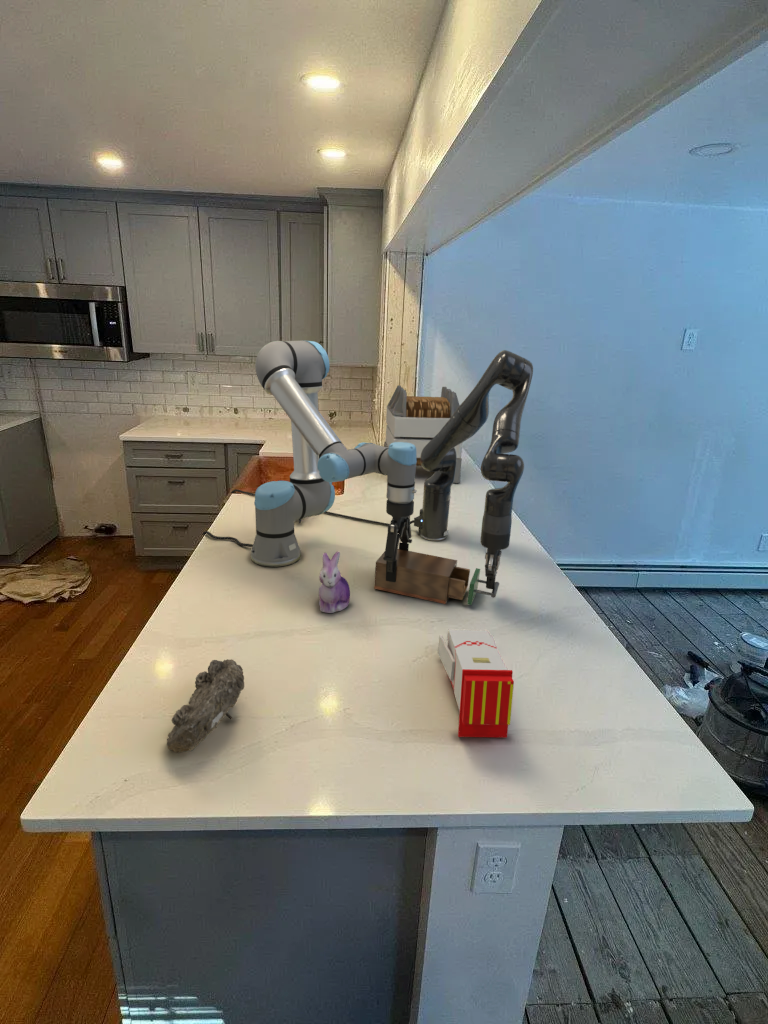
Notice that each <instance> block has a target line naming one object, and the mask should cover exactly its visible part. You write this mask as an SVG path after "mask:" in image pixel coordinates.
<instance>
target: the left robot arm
mask: <svg viewBox="0 0 768 1024" xmlns="http://www.w3.org/2000/svg"><path fill="white" fill-rule="evenodd" d="M330 366H331V365H330V358H329V356H328V353H327V350H326V349H325V348H323V346H322V345H321V344H320V343H319V342H317V341H314V340H305V339H303V340H274V341H270V342H268V343H266V344H264V346H262V347H261V349H260V350H259V352H257V355H256V358H255V365H254V367H255V368H254V369H255V375H256V377H257V380H258V382H259V384H260V385H261V387H262V388H263V390H264V391H265V393H266V394H268V395H270V396H273V398H274V399H275V400H276V402H277V403H278V405H279V406H280V407H281V409H282V410H283V411H284V412H285V414H286V416H287V417H288V418H289V420H290V424H291V426H290V427H291V428H290V429H291V441H292V442H291V443H292V457H293V459H292V460H293V471H292V472H291V473H290V475H289V480H277V481H276V480H272V481H267V482H265V483H262V484H261V485H259V486H258V487H257V488H256V490H255V492H254V494H255V496H254V502H253V503H254V504H253V505H254V507H255V508H254V513H255V537H254V540H253V543H246V542H245V543H244V542H240V540H239V539H238V538H236V537H233V536H217V535H214V534H213V533H211V532H210V531H208V530H205V531H204V532H202V535H203V536H205V535H208V536H209V537H210V538H212V539H213V540H221V541H222V540H223V541H225V540H230V541H234V542H235V543H236V544H237V545H239V546H241V547H249V548H251V549H250V559H251V561H252V562H253V563H254V564H256V565H259V566H261V567H268V568H272V567H273V568H278V567H285V566H289V565H293V564H294V563H296V562H298V561H299V560H300V559H301V556H302V555H301V551H302V550H301V547H300V546H299V543H298V539H297V536H296V534H295V522H299V520H301V521H302V520H305V519H308V518H312V517H315V516H316V517H317V516H319V515H322V514H325V513H324V512H326V511H327V512H329V510H331V508H332V506H333V505H334V503H335V499H336V489H335V486H334V485H333V483H337V482H338V483H339V482H344V481H346V480H349V479H352V478H357V477H363V476H365V475H369V474H373V473H375V474H379V475H383V476H386V477H387V479H386V503H385V504H386V505H385V507H386V508H385V512H386V514H387V515H388V516H391V517H392V518H391V520H390V523H388V526H387V534H386V542H385V549H384V551H385V555H384V557H383V560H385V561H386V581H390V582H396V566H397V560H396V555H397V550H398V549H402V550H407V551H409V549H410V547H409V545H410V544H412V542H413V539H411V538H412V527H411V524H410V521H411V516H412V515H413V514H414V511H415V510H414V509H415V501H414V500H415V494H417V492H418V491H417V489H415V487H416V472H417V466H416V463H417V459H416V447H415V445H413V444H411V443H407V442H406V443H405V442H394V443H391V444H390V445H389V448H387V447H384V445H381V444H376V443H373V442H366V441H365V442H364V441H363V442H359V443H357V445H356V446H355V447H354V448H351V449H347V447H346V445H344V443H343V442H342V441H341V439H340V438H339V436H338V435H337V434H336V432H335V431H334V430H333V428H332V427H331V425H330V424H329V423H328V421H327V420H326V418H324V416H323V414H321V412H320V411H319V410H320V409H319V391H320V390H321V389H322V388H323V380H324V379H326V377H327V376H328V374H329V372H330Z"/></svg>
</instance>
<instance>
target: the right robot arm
mask: <svg viewBox="0 0 768 1024" xmlns="http://www.w3.org/2000/svg"><path fill="white" fill-rule="evenodd" d="M533 375H534V364H533V363H532V361H531V360H528V358H525V357H523V356H521V355H519V354H516V353H515V352H513V351H510V350H507V349H503V350H501V351H499V352H498V353H497V354H496V355H495V356H494V358H493V359H492V360H491V362H490V364H489V365H488V367H487V368H486V369H485V371H484V373H483V374H482V375H481V377H480V379H479V380H478V381H477V384H476V385H475V386H474V387H473V389H472V390H471V391H470V393H468V395H467V396H466V397H465V399H463V401H462V402H461V404H459V405H460V406H459V407H458V409H457V410H456V411H455V413H454V414H453V415H452V417H451V418H450V419H449V421H448V422H447V423H446V424H445V425H444V427H443V428H442V429H441V430H440V432H439V433H438V434H437V435H436V436H435V437H434V438H433V439H432V440H431V441H430V442H429V443H428V444H427V445H426V446H425V447H424V448H423V450H422V452H421V456H420V463H421V466H420V467H422V469H423V470H424V471H427V472H430V473H431V472H432V473H433V474H431V476H429V477H427V478H426V479H425V480H424V482H423V493H422V496H423V497H422V506H421V508H420V509H419V515H418V516H416V517H414V518H413V519H412V520H410V525H411V524H413V526H414V527H416V528H418V530H417V535H418V536H420V538H421V539H424V540H426V541H432V542H440V541H444V540H446V539H447V538H448V534H449V529H448V525H449V517H450V516H449V514H450V504H451V494H452V493H451V491H452V486H453V484H454V483H453V481H454V475H455V468H456V459H457V457H456V450H455V448H454V447H455V446H457V445H459V444H461V443H462V442H463V443H464V442H466V441H467V440H469V439H470V438H473V437H474V436H475V435H476V434H477V433H478V432H479V431H480V429H481V428H482V427H484V425H485V424H486V423H487V421H488V418H489V415H490V392H491V391H492V388H493V387H494V386H496V385H498V386H501V387H503V388H504V389H505V388H506V389H507V390H511V391H512V398H511V399H510V401H509V402H508V403H506V404H505V405H504V406H503V407H502V408H501V409H500V410H499V411H498V412H497V414H496V416H495V418H494V420H493V424H492V433H491V440H490V444H489V446H488V448H487V450H486V453H485V455H484V456H483V459H482V461H481V465H480V474H481V476H482V478H483V479H484V480H486V481H488V482H489V481H491V482H501V483H506V485H504V486H501V487H495V488H490V489H488V490H487V491H486V493H485V498H484V507H483V508H484V512H483V515H482V520H481V521H482V522H481V532H480V541H479V542H480V543H479V544H480V545H481V546H482V547H484V548H486V551H485V554H484V559H485V564H484V573H485V574H484V575H485V577H486V580H485V581H486V584H485V588H486V589H487V590H488V589H489V590H493V589H494V587H495V582H496V579H497V574H498V571H499V567H500V564H501V558H502V556H503V555H502V554H503V550H506V549H507V548H509V547H510V541H511V532H512V525H513V524H512V523H513V522H512V521H513V519H512V518H513V517H512V516H513V515H512V514H513V507H514V506H513V505H514V498H515V493H516V491H517V488H518V486H519V484H520V481H521V479H522V477H523V474H524V471H525V461H524V460H523V458H522V457H521V456H520V455H518V454H512V452H515V451H516V450H517V449H518V447H519V445H520V436H521V424H522V417H523V415H524V414H523V413H524V409H525V406H526V402H527V399H528V396H529V392H530V388H531V384H532V381H533ZM463 443H462V444H463ZM509 453H511V454H509ZM236 492H237V493H240V494H244V495H250V496H254V497H255V493H253V492H248V491H244V490H241V489H233V490H232V491H231V492H230V493H231V494H233V493H236ZM323 514H327V515H331V516H336V517H340V518H345V519H350V520H353V521H354V520H355V521H359V522H366V523H371V524H376V525H380V526H386V527H388V524H389V523H388V522H382V521H377V520H371V519H367V518H361V517H355V516H350V515H345V514H340V513H336V512H332V511H326V512H324V513H323Z"/></svg>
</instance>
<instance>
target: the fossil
mask: <svg viewBox="0 0 768 1024" xmlns="http://www.w3.org/2000/svg"><path fill="white" fill-rule="evenodd" d="M243 670H244V669H243V667H242V665H240V664H237V662H236V661H235V660H234V659H232V658H231V659H227V658H226V659H224V660H223V661H222V660H217V659H212V660H211V661H210V663H209V665H208V666H207V671H201V672H199V673H198V674H197V675H196V676H195V680H194V684H195V685H194V687H195V689H194V690H193V693H192V694H191V697H190V698H189V700H188V704H184V705H182V706H181V707H180V709H177V710H176V711H175V713H174V715H173V716H172V718H171V723H172V724H173V727H172V730H171V731H170V732H168V734H167V738H166V741H167V742H166V745H167V749H168V750H169V751H173V752H174V753H176V754H178V753H182V752H188V751H189V752H192V751H193V750H195V748H196V747H197V746H199V744H200V743H201V742H203V741H204V740H205V739H206V738H207V737H208V736H209V735H210V734H211V733H212V732H214V730H215V729H217V727H218V726H219V724H220V722H221V721H222V720H223V719H224V718H225V716H226V717H227V719H229V720H233V717H232V715H230V714H229V710H230V709H231V708H234V706H235V704H236V703H237V702H238V699H239V697H240V695H241V693H242V691H243V690H245V689H244V688H245V675H244V671H243Z"/></svg>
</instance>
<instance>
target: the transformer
mask: <svg viewBox="0 0 768 1024" xmlns="http://www.w3.org/2000/svg"><path fill="white" fill-rule="evenodd" d="M440 393H441V394H440V396H415V395H414V396H413V395H412V396H411V395H407V394H408V393H407V390H406V389H404V388H403V387H402V385H399V384H398V385H397V386H396V388H395V390H394V392H393V394H392V395H391V398H390V400H389V402H388V404H387V405H386V413H385V414H386V415H385V423H386V428H385V438H384V442H383V446H384V447H387V448H389V445H390V444H391V443H394V442H405V443H406V442H407V443H411V444H413V445H415V447H416V459H417V463H416V467H417V466H418V467H422V466H421V463H420V456H421V452H422V450H423V448H424V447H425V446H426V445H427V444H428V443H429V442H430V441H431V440H432V439H433V438H434V437H435V436H436V435H437V434H438V433H439V432H440V430H441V429H442V428H443V427H444V425H445V424H446V423H447V422H448V421H449V419H450V418H451V417H452V415H453V414H454V413H455V411H456V410H457V409H458V407H459V406H460V405H461V404H460V402H459V398H458V395H457V392H455V391H453V390H452V389H451V388H447V386H442V387H441V392H440ZM463 443H464V442H462V443H461V444H459V445H457V446H455V447H454V448H455V450H456V457H457V459H456V468H455V475H454V481H453V484H455V483H456V484H459V483H461V472H462V461H463V460H462V453H463Z"/></svg>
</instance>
